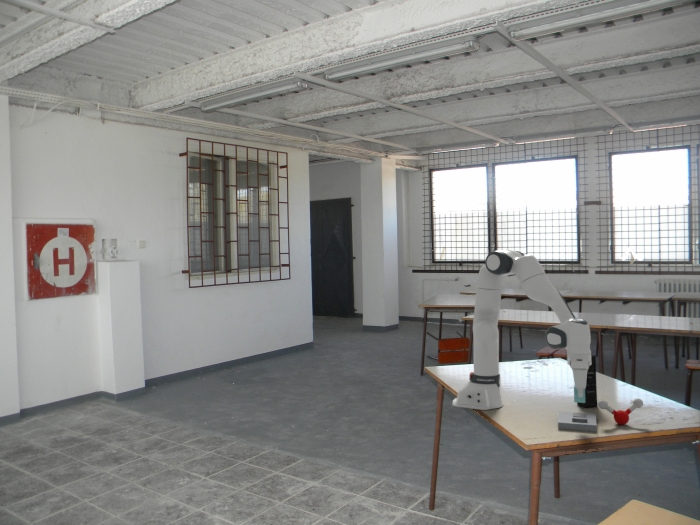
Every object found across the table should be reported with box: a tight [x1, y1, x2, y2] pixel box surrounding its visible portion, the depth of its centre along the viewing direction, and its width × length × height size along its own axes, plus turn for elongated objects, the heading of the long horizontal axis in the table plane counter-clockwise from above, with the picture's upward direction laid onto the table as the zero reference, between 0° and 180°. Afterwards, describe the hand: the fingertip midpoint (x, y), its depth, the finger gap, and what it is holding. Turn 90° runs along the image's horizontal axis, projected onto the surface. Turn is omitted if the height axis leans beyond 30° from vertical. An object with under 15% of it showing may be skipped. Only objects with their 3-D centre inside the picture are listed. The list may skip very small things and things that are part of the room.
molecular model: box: [597, 398, 644, 426], centre depth 233 cm, size 18×6×10 cm, turn 89°
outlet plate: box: [557, 410, 598, 433], centre depth 235 cm, size 14×16×3 cm
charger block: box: [573, 384, 585, 403], centre depth 231 cm, size 4×4×6 cm
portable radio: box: [576, 348, 598, 409], centre depth 259 cm, size 8×6×25 cm
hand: (580, 395), depth 231 cm, fingers closed on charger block, 4 cm apart
